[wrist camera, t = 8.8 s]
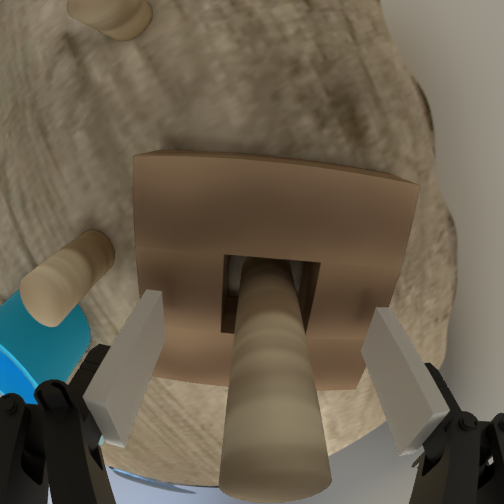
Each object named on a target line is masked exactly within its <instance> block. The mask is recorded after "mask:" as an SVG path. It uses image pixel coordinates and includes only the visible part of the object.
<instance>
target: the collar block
mask: <svg viewBox="0 0 504 504" xmlns="http://www.w3.org/2000/svg"><path fill="white" fill-rule="evenodd" d="M419 188H420V185H418V184H415V183H413V182H410V181H408V180H405V179H402V178H400V177H397V176H394V175H392V174H389V173H384V172H378V171H373V170H368V169H362V168H356V167H350V166H344V165H338V164H331V163H324V162H317V161H310V160H302V159H293V158H284V157H275V156H265V155H254V154H241V153H226V152H208V151H181V150H158V151H153V152H148V153H143V154H139V155H134V156H133V205H134V231H135V248H136V262H137V274H138V284H139V294H140V298H141V297H142V295H143V294H144V292H145V291H146V289H148V290H156V291H162V299H163V312H164V323H165V333H166V339H165V342H164V344H163V347H162V350H161V352H160V355H159V357H158V360H157V362H156V365H155V367H154V370H153V373H152V376H154V377H159V378H165V379H171V380H178V381H185V382H192V383H200V384H208V385H217V386H227V387H229V379H230V370H231V361H232V352H233V342H234V333H235V324H236V315H237V307H238V297H227V285H228V267H229V255H239V256H250V257H262V258H274V259H286V260H298V261H304V267H303V273H302V279H301V284H300V290H299V295H298V303H299V307H300V312H301V317H302V321H303V326H304V331H305V336H306V341H307V345H308V350H309V355H310V360H311V365H312V370H313V376H314V381H315V386H316V390H353V389H356V387H357V385H358V383H359V381H360V379H361V376H362V374H363V372H364V369H365V367H366V363H365V361H364V358H363V356H362V353H361V349H362V346H363V343H364V340H365V338H366V335H367V332H368V329H369V326H370V324H371V321H372V318H373V315H374V312H375V309H376V307H389V304H390V301H391V298H392V295H393V292H394V289H395V285H396V282H397V279H398V276H399V272H400V269H401V265H402V262H403V258H404V254H405V251H406V247H407V243H408V239H409V235H410V231H411V226H412V222H413V217H414V213H415V208H416V203H417V198H418V193H419Z"/></svg>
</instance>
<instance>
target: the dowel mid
mask: <svg viewBox="0 0 504 504" xmlns="http://www.w3.org/2000/svg"><path fill="white" fill-rule="evenodd" d="M114 259H115V252H114V248H113V245H112V243H111V242H110V240H109V239H108V238H107V237H106V236H105V235H104V234H103V233H101V232H99V231H96V230H89V231H86V232H84V233H83V234H81V235H80V236H79V237H77V238H76V239H74V240H73V241H71V242H70V243H69V244H67V245H66V246H64V247H63V248H62V249H60V250H59V251H57V252H56V253H55V254H53V255H52V256H51V257H49V258H48V259H47V260H45V261H44V262H43V263H41V264H40V265H39V266H38V267H36V268H35V269H34V270H32V271H31V272H30V273H29V274H27V275H26V276H25V277H24V278H23V279H22V280H21V283H20V295H21V299H22V301H23V304H24V306H25V307H26V309H27V311H28V312H29V313H30V314H31V316H32V317H33V318H34V319H35V320H37V321H38V322H39V323H41V324H43V325H45V326H48V327H56V326H58V325H59V324H60V323H61V322H62V321H63V320H64V318H65V317H66V316H67V315H68V314H69V313H70V311H71V310H72V309H73V308H74V307H75V306H76V305H77V303H78V302H79V301H80V300H81V299H82V298H83V297H84V296H85V295H86V293H87V292H88V291H89V290H90V289H91V288H92V287H93V286H94V285H95V284H96V283H97V281H98V280H99V279H100V278H101V277H102V276H103V275H104V274H105V273H106V272H107V271H108V270H109V269H110V268H111V266H112V265H113V263H114Z"/></svg>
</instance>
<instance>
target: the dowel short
mask: <svg viewBox="0 0 504 504" xmlns="http://www.w3.org/2000/svg"><path fill="white" fill-rule="evenodd" d="M67 10H68V13H69V15H70V16H71V17H73V18H75V19H77V20H79V21H81V22H83V23H85V24H87V25H89V26H91V27H93V28H95V29H97V30H98V31H100V32H102V33H104V34H106V35H108V36H110V37H111V38H113V39H115V40H118V41H126V40H130V39H133V38H135V37H137V36H138V35H140V34H141V33H142V32H143V31H144V30H145V29H146V28H147V27H148V25H149V24H150V22H151V19H152V14H153V13H152V8H151V6H150V5H149V4H148V3H147V2H146V0H68V3H67Z"/></svg>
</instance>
